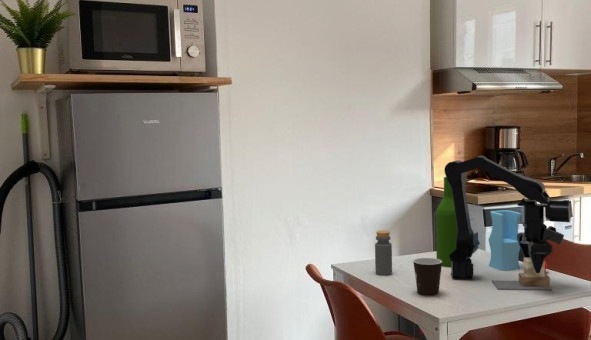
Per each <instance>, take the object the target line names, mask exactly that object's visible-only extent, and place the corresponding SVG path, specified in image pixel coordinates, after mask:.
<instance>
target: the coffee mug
mask: <svg viewBox="0 0 591 340" xmlns="http://www.w3.org/2000/svg"><path fill="white" fill-rule="evenodd" d="M412 263H413V268H414V276H415V277H414V278H415V284H416V292H417V294H418V295H420V296H425V297H434V296H438V295H439V293H440V285H441V284H440V283H441V275H442V267H443V266H442V261H441V260H439V259H437V258H434V257H420V258H419V257H418V258H415V259H413V261H412Z"/></svg>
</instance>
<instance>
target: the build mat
mask: <svg viewBox="0 0 591 340" xmlns="http://www.w3.org/2000/svg"><path fill="white" fill-rule="evenodd" d="M491 283H492V284H493V285H494V287H495V288H496V289H497V291H499V290H500V291H501V290H502V291H503V290H504V291H553V288H552V287H551V286H550V287H527V286H522V285H521V284H520V283H519V280H493V279H492V280H491Z"/></svg>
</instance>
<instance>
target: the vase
mask: <svg viewBox="0 0 591 340" xmlns="http://www.w3.org/2000/svg"><path fill="white" fill-rule="evenodd" d="M490 215H491V221H492V222H491V223H492V227H491V232H490V235H489V237H488V243H489V245H488V246H489V249H490V260H489V263H488V266H489V267H490V268H494V269H496V270H498V271H503V272H504V271H513V270H514V271H515V270H519V269H520V261H519V255H520V251H521V248H520V246H519V244H518V241H517V235H518V234H519V233H520V232H519V221H520V217H521V215H522V212H517V211H513V210H510V209H509V210H507V209H505V210H492V211H490Z"/></svg>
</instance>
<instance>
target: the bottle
mask: <svg viewBox="0 0 591 340" xmlns="http://www.w3.org/2000/svg"><path fill="white" fill-rule="evenodd" d="M375 233H376V236H375V240H377V242H376V243H375V244H374V263H375V265H374V267H375V269H374V271H375V275H378V276H382V277H383V276H391V275H392V274H393V252H392V251H393V250H392V249H393V246H392V245H393V244H392V243H391V242H390V240H391V236H390V233H391V232H390V231H389V230H376V231H375Z"/></svg>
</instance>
